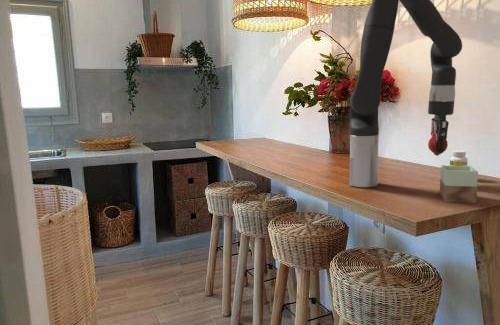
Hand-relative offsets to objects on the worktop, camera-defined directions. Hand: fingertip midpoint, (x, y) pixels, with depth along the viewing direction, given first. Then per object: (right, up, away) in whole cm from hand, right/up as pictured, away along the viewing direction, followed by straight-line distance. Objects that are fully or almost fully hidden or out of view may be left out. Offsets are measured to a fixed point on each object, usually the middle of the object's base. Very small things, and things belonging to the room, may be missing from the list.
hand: (437, 150), depth 131 cm
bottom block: (-2, -15, -16) cm, 22 cm away
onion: (0, -2, 0) cm, 2 cm away
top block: (-2, -10, -17) cm, 20 cm away
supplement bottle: (+11, -10, +7) cm, 16 cm away
